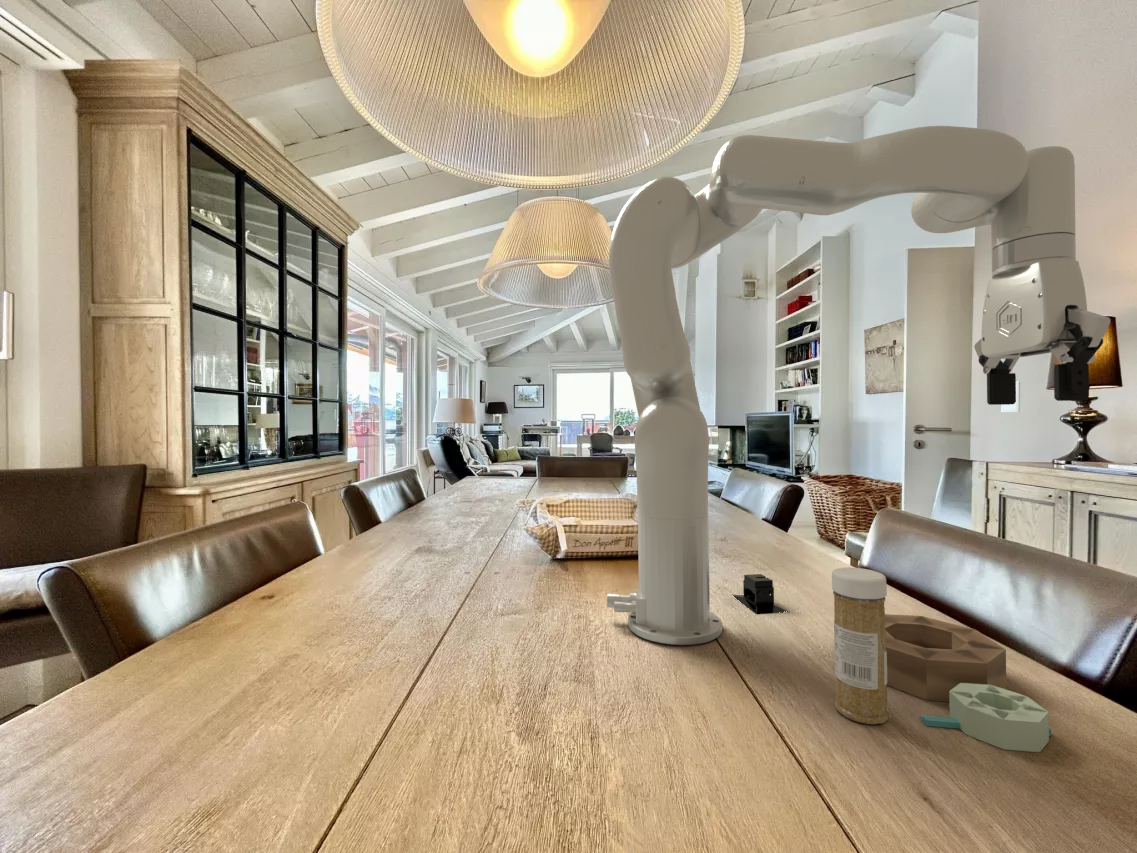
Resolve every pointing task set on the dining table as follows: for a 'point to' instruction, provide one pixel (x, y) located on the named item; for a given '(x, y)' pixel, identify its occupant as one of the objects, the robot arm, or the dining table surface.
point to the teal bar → (946, 722)
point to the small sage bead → (1000, 717)
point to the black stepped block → (759, 595)
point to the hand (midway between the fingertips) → (1033, 402)
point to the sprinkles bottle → (860, 644)
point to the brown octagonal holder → (939, 657)
